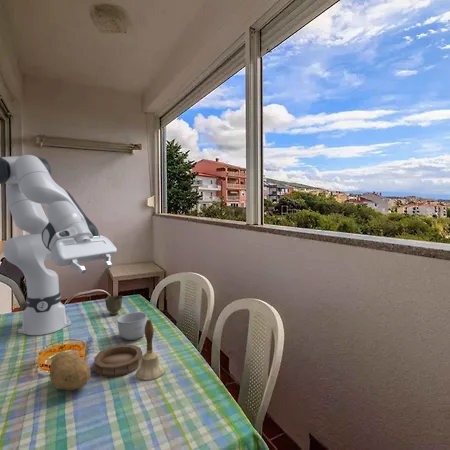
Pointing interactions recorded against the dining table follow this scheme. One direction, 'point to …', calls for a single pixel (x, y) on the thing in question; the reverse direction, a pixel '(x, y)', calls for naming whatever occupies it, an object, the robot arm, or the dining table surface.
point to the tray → (118, 360)
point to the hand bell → (149, 358)
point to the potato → (69, 371)
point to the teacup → (132, 325)
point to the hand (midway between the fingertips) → (96, 269)
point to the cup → (113, 304)
